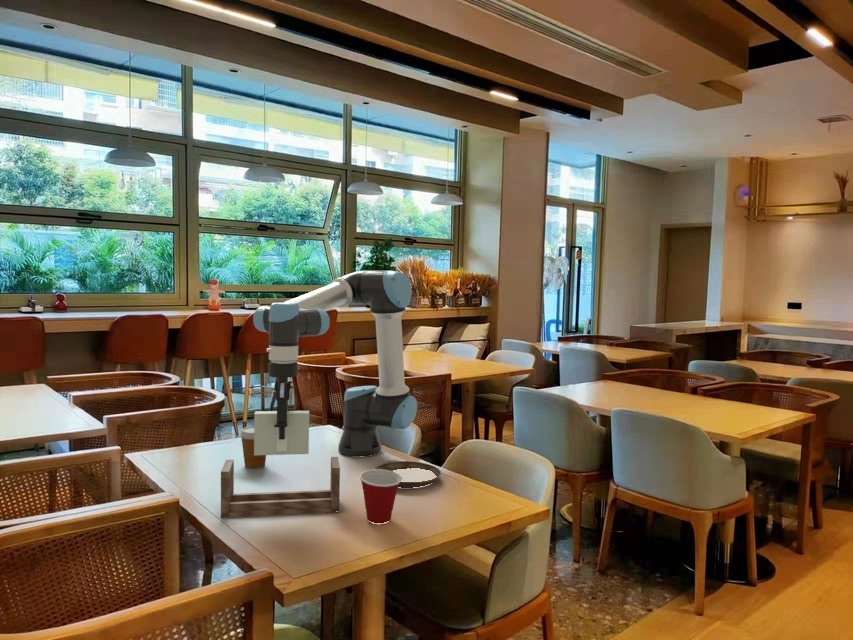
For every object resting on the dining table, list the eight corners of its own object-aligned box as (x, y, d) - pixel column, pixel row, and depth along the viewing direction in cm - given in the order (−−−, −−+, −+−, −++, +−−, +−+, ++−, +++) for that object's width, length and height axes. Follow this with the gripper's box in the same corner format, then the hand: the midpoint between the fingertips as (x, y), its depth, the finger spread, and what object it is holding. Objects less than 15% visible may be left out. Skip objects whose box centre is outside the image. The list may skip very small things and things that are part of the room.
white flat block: (308, 450, 165) (309, 410, 164) (308, 454, 162) (309, 413, 162) (255, 452, 163) (255, 411, 162) (254, 455, 160) (254, 413, 159)
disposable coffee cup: (265, 470, 193) (265, 433, 192) (235, 469, 193) (235, 432, 192) (273, 461, 203) (273, 426, 202) (245, 460, 203) (245, 425, 202)
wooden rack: (337, 498, 171) (338, 456, 171) (339, 512, 162) (340, 467, 161) (225, 503, 166) (226, 459, 165) (220, 517, 156) (220, 471, 155)
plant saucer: (421, 467, 202) (422, 457, 202) (453, 487, 184) (453, 476, 184) (363, 475, 193) (363, 464, 192) (390, 497, 174) (390, 485, 174)
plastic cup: (384, 533, 149) (385, 485, 148) (349, 522, 155) (350, 476, 154) (409, 519, 158) (410, 473, 158) (375, 509, 164) (376, 466, 163)
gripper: (270, 357, 168) (269, 440, 170) (266, 365, 152) (265, 458, 154) (298, 357, 169) (297, 440, 171) (297, 365, 154) (295, 457, 155)
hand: (282, 448), depth 162 cm, fingers closed on white flat block, 3 cm apart
